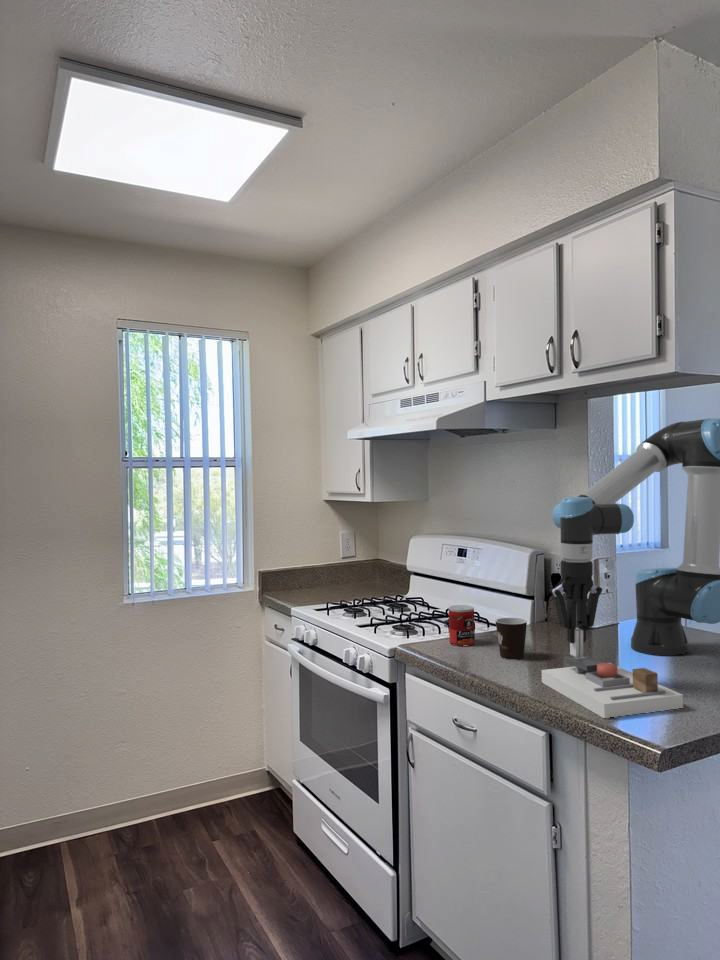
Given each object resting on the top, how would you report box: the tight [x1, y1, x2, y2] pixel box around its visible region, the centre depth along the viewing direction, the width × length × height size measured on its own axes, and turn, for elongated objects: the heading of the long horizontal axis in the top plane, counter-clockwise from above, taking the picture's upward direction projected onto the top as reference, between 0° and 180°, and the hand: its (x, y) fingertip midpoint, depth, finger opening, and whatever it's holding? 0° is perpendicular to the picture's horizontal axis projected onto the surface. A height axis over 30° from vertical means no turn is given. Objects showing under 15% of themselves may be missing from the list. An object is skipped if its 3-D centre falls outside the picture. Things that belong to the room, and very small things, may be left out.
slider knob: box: [632, 667, 659, 693], centre depth 148 cm, size 3×4×4 cm
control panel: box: [541, 662, 684, 719], centre depth 154 cm, size 19×26×4 cm
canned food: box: [448, 604, 476, 646], centre depth 205 cm, size 8×8×11 cm
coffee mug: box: [495, 617, 528, 660], centre depth 190 cm, size 12×9×10 cm
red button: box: [597, 662, 618, 677], centre depth 154 cm, size 4×4×2 cm
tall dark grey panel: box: [565, 655, 607, 671], centre depth 162 cm, size 6×9×1 cm, turn 14°
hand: (576, 655), depth 166 cm, fingers closed
